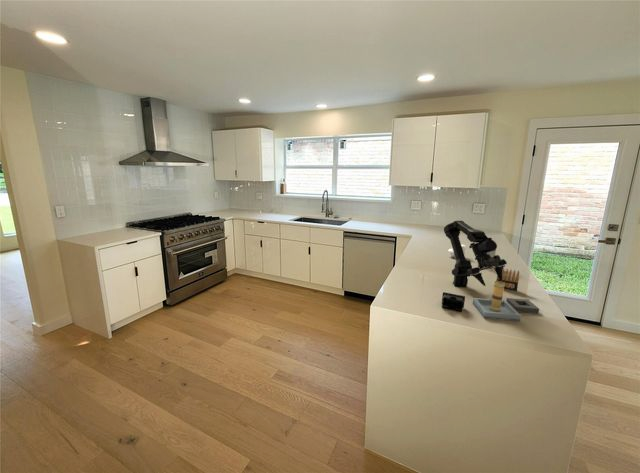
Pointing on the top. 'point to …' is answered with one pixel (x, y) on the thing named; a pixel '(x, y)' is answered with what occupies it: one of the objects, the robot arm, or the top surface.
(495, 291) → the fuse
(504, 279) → the ammunition clip
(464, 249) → the mechanical part
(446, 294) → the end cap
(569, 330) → the top surface
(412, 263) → the top surface
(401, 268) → the top surface
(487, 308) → the parts tray
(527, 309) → the block
